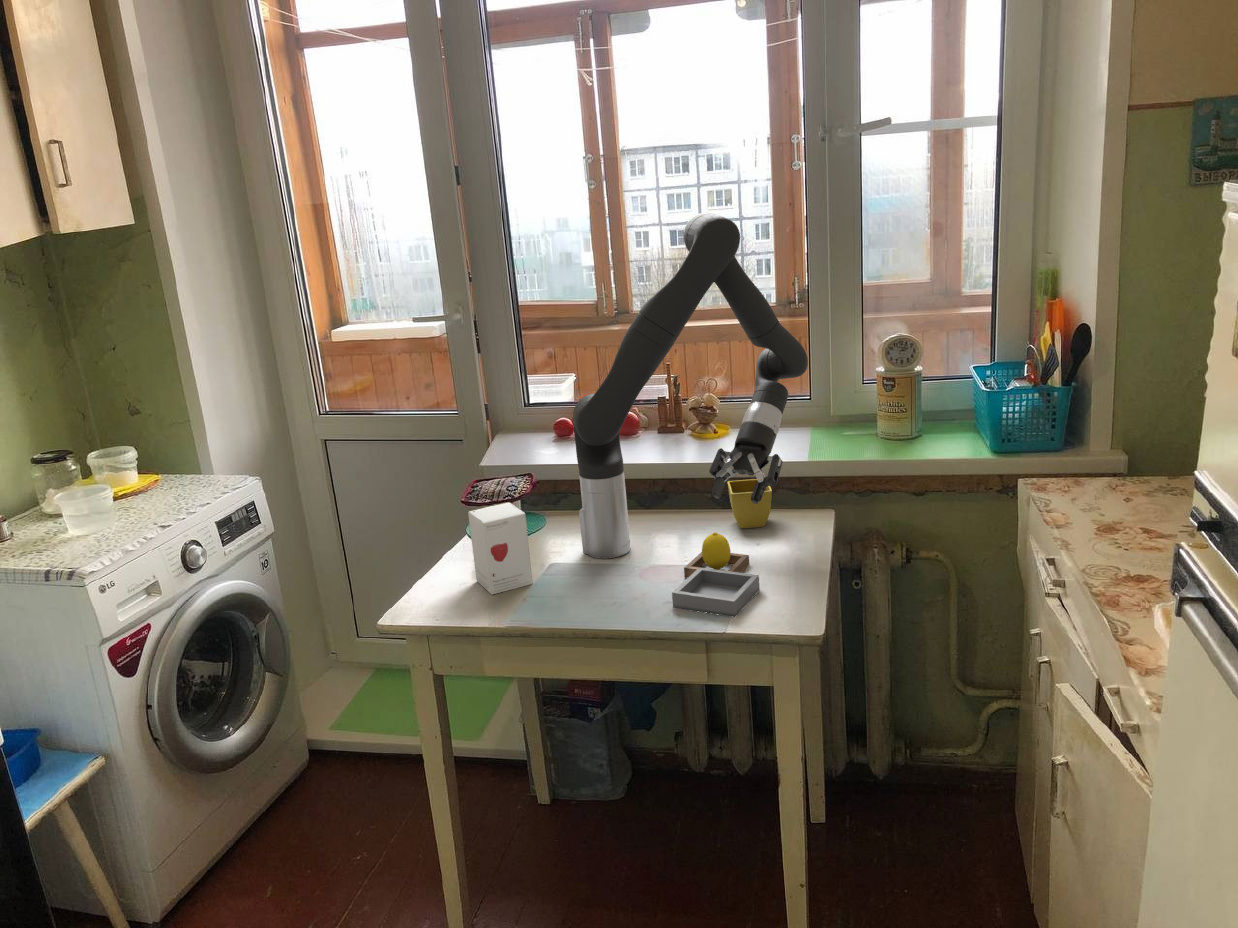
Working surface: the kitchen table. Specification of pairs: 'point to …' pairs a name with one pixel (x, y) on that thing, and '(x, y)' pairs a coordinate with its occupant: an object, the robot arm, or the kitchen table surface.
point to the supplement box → (500, 547)
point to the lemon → (716, 551)
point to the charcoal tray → (716, 592)
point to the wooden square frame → (735, 559)
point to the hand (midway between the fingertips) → (734, 499)
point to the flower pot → (749, 503)
